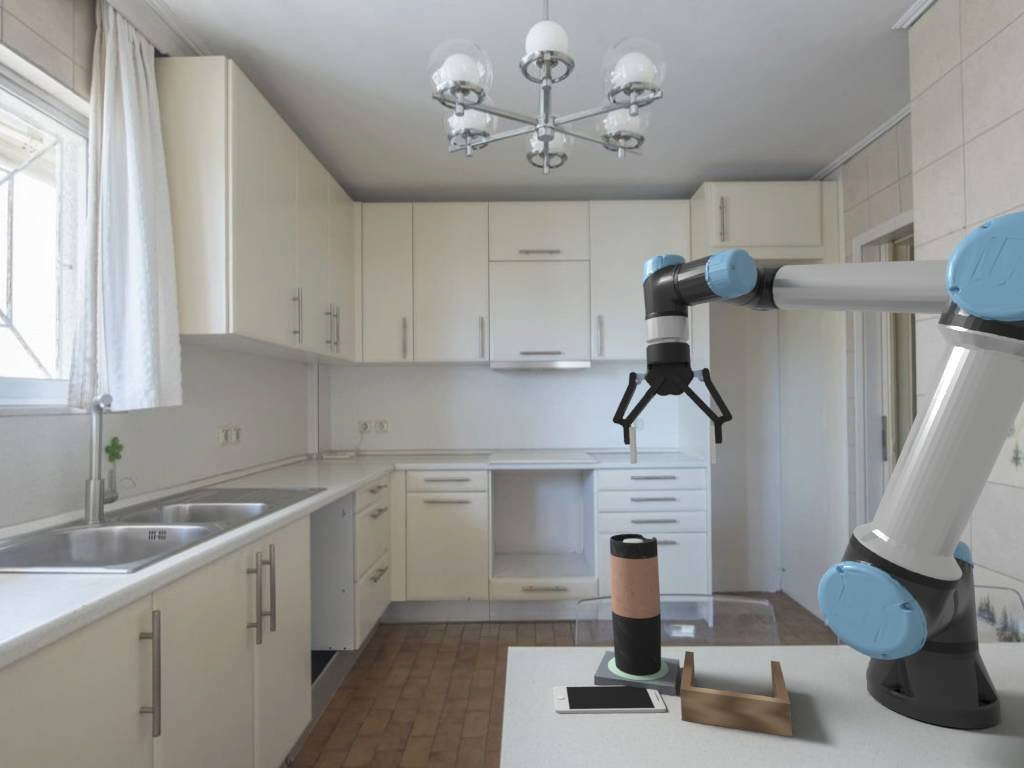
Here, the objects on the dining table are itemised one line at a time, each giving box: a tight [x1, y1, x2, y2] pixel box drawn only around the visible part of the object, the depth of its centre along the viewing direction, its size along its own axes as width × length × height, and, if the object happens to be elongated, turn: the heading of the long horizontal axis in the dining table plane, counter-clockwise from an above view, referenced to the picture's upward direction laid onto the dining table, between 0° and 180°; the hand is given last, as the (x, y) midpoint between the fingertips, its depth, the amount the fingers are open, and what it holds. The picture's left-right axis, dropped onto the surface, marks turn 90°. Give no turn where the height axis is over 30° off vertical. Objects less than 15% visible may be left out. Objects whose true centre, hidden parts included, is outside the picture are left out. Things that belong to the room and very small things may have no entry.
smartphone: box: [552, 685, 667, 714], centre depth 81 cm, size 7×15×1 cm, turn 88°
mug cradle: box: [679, 650, 793, 738], centre depth 79 cm, size 13×13×4 cm
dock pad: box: [593, 650, 681, 696], centre depth 89 cm, size 12×10×1 cm
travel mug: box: [609, 533, 662, 676], centre depth 90 cm, size 8×8×20 cm
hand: (673, 463), depth 98 cm, fingers open, 13 cm apart
